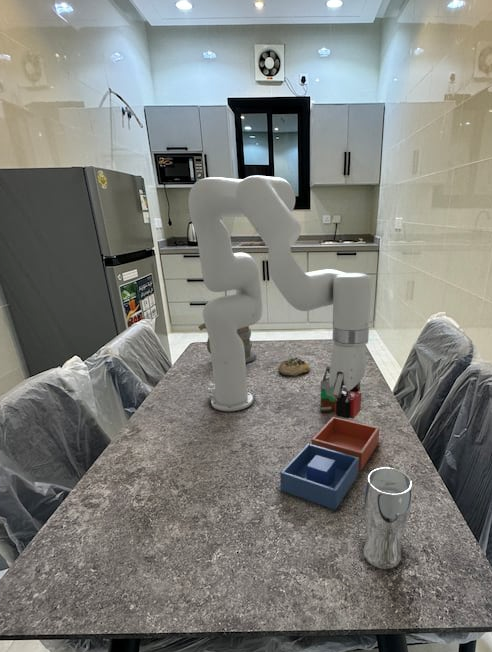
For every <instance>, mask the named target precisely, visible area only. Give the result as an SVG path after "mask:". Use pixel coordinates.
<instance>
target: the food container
mask: <svg viewBox="0 0 492 652" xmlns="http://www.w3.org/2000/svg"><path fill="white" fill-rule="evenodd" d="M329 378H330V366H325V372H324V375H323V378H322V380H320V412H321V413H330V412H335V396H333V392H334V389H335V387H333V388H330V386H329Z"/></svg>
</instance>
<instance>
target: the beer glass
mask: <svg viewBox="0 0 492 652" xmlns="http://www.w3.org/2000/svg"><path fill="white" fill-rule="evenodd" d="M412 498H413V481H412V479H411V477H410V476H409V475H408V473H406V472H404V471H402V470H400V469H397V468H395V467H394V468H393V467H379V468H375V469H373V470H372V471H370V473H368V475H367V482H366V487H365V492H364V504H363V506H364V507H363V508H364V518H365V525H366V540H365V543H364V545H363V556H364V558H365V560H366V561H367V562H368V563H369V564H370V565H371V566H373V567H375V568H377V569H381V570H389V569H393V568H395V567H396V566H398V565H400V564H399V563H401V560H402V549H401V542H402V537H403V535H404V532H405V530H406V527H407V524H408V521H409V518H410V515H411V509H412V500H413V499H412Z"/></svg>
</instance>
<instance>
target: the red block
mask: <svg viewBox="0 0 492 652" xmlns="http://www.w3.org/2000/svg"><path fill="white" fill-rule="evenodd" d="M342 393H343V394H345V396H346V391H342ZM349 401H350V402H351V414H350V418H349V419H352V420H354V419H355V418H356V417H357V415H358V414H359V413H360V412H361V410H362V409H361V406H362V392H360V391H359V392H354V391H351V392H350V400H349ZM334 415H335V416H337V415H336V397H335V410H334Z"/></svg>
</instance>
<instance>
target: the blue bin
mask: <svg viewBox="0 0 492 652" xmlns="http://www.w3.org/2000/svg"><path fill="white" fill-rule="evenodd" d="M316 455H318V456H322V457H325V458H329V459H332V460H335V479H334V480H333V481H332V483H331V484H330V486H329V487H328V486H325V485H322V484H319V483H316V482H313V481H310V480H307V465H308V464H309V463H310V461H311V460H312V459H313V458H314V457H315V456H316ZM358 468H359V458H358V457H355V456H351V455H348V454H344V453H341V452H337V451H334V450H330V449H327V448H323V447H319V446H316V445H312V443H306V445H304V447H303V448H302V449H301V450H300V451H299V452H298V453H297V454H296V455H295V457H293V458H292V460H291V461H290V462H288V464H287V465H286V466H285V467H284V468H283V469H282V470H281V471H280V472H279V474H280V475H279V476H280V477H279V479H280V491H281V492H283V493H286V494H290V495H292V496H295V497H297V498H300V499H303V500H306V501H308V502H311V503H315V504H317V505H320V506H323V507H326V508H329V509H331V510H334V511H336V510H337V509H338V507H339V505H340V504H341V503H342V501H343V499H344V498H345V496H346V495H347V493H348V492H349V490H350V488H351V487H352V485H353V484H354V482H355V481H356V479H357V478H358V476H359V470H358Z"/></svg>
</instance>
